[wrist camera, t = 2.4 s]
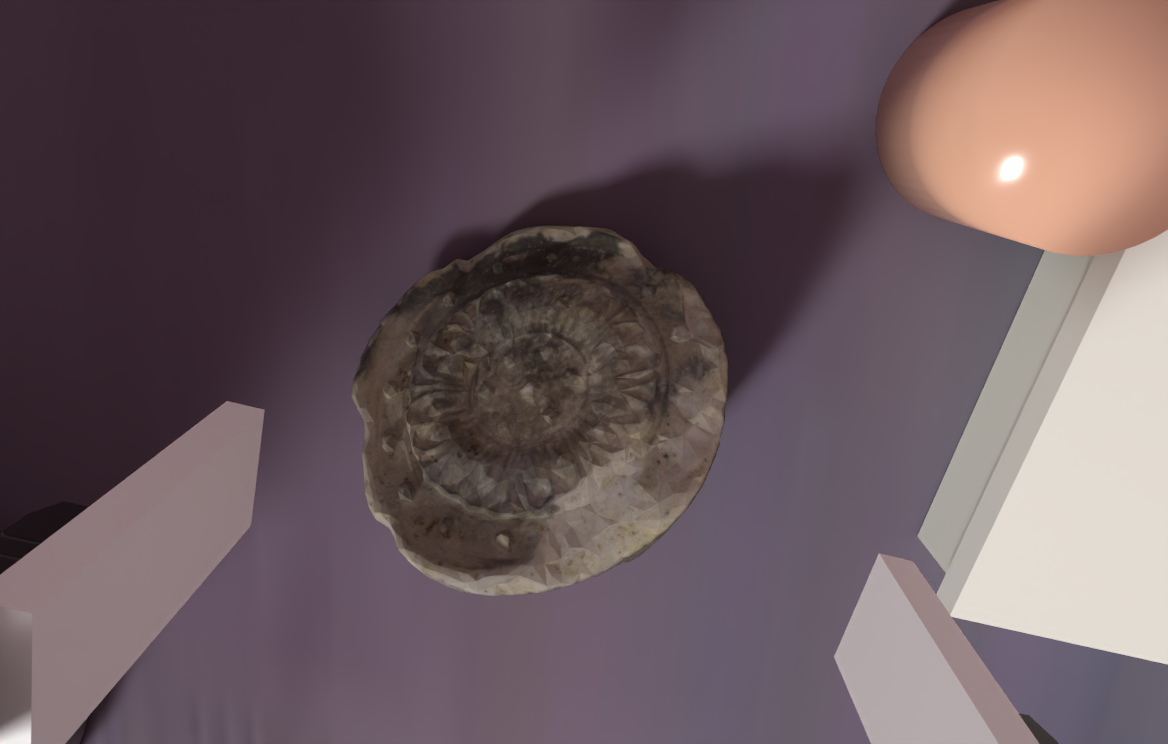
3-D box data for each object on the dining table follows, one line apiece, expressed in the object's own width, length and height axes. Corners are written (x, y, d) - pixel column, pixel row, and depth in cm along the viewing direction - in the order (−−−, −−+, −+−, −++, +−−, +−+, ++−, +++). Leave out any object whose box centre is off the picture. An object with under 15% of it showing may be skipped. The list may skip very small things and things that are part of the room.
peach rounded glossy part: (846, 193, 23) (930, 220, 17) (921, -21, 21) (1044, -70, 15) (1030, 241, 23) (1171, 283, 18) (1120, 35, 22) (1309, 9, 16)
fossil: (557, 126, 22) (717, 317, 15) (708, 299, 28) (875, 494, 21) (302, 370, 24) (331, 643, 17) (495, 481, 30) (577, 718, 23)
